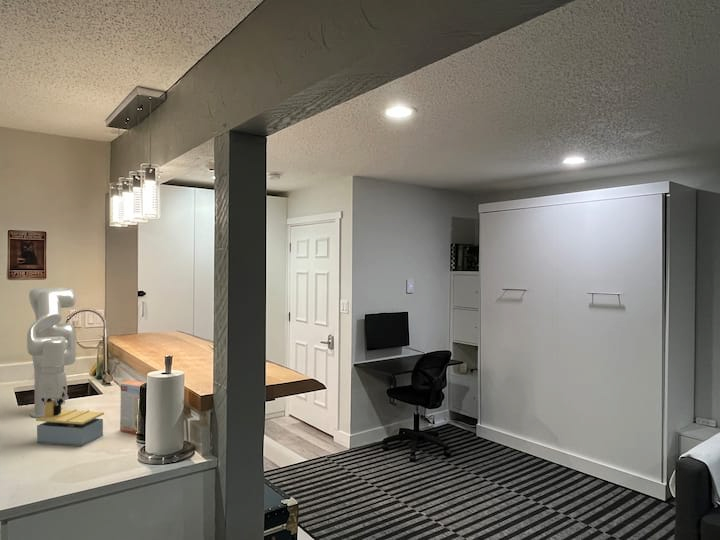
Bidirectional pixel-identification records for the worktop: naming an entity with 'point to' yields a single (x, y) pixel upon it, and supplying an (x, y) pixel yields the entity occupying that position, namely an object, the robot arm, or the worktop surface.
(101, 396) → the worktop surface
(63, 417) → the lid
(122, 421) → the cracker box
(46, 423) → the tub
